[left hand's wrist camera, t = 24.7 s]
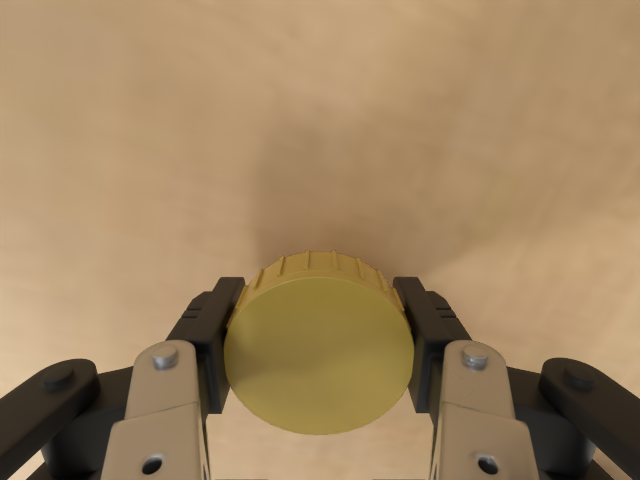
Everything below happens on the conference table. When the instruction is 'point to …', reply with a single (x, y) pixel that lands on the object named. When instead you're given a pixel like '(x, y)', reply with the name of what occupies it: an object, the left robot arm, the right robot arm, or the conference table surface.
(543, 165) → the conference table surface
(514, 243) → the conference table surface
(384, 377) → the lid
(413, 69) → the conference table surface
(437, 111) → the conference table surface
